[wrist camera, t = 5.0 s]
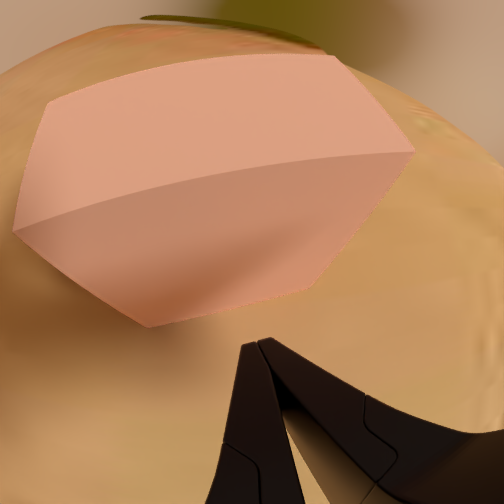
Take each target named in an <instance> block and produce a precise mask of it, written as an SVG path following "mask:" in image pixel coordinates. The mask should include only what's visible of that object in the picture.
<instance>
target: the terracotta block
mask: <svg viewBox="0 0 504 504" xmlns="http://www.w3.org/2000/svg"><path fill="white" fill-rule="evenodd" d="M415 152H416V150H415V149H414V148H413V146H412V145H411V143H410V142H409V141H408V139H407V138H406V136H405V135H404V134H403V132H402V131H401V130H400V128H399V127H398V126H397V125H396V123H395V122H394V121H393V120H392V118H391V117H390V116H389V115H388V113H387V112H386V111H385V110H384V108H383V107H382V106H381V105H380V104H379V103H378V101H377V100H376V99H375V98H374V97H373V96H372V95H371V93H370V92H369V91H368V90H367V89H366V88H365V87H364V86H363V85H362V83H361V82H360V81H359V80H358V79H357V78H356V77H355V76H354V75H353V74H352V73H351V72H350V71H349V70H348V69H347V68H346V67H345V66H344V65H343V64H342V63H341V62H340V61H339V60H338V59H337V58H336V57H335V56H328V55H312V54H255V55H239V56H227V57H217V58H209V59H201V60H194V61H188V62H182V63H176V64H171V65H165V66H161V67H156V68H151V69H147V70H143V71H139V72H135V73H131V74H127V75H124V76H120V77H117V78H113V79H110V80H107V81H103V82H100V83H97V84H94V85H91V86H88V87H86V88H83V89H80V90H77V91H75V92H72V93H70V94H67V95H65V96H62V97H60V98H57V99H55V100H53V101H50V102H48V104H47V107H46V109H45V112H44V114H43V117H42V119H41V122H40V125H39V127H38V130H37V133H36V136H35V139H34V141H33V145H32V148H31V151H30V154H29V157H28V161H27V164H26V168H25V171H24V175H23V179H22V183H21V187H20V192H19V196H18V201H17V206H16V211H15V217H14V223H13V229H12V232H13V233H14V234H15V235H16V236H17V237H18V238H20V239H21V240H22V241H23V242H24V243H25V244H27V245H28V246H29V247H30V248H31V249H33V250H34V251H35V252H36V253H38V254H39V255H40V256H41V257H43V258H44V259H45V260H46V261H48V262H49V263H50V264H52V265H53V266H54V267H55V268H57V269H58V270H59V271H61V272H62V273H63V274H65V275H66V276H68V277H69V278H70V279H72V280H73V281H74V282H76V283H77V284H79V285H80V286H82V287H83V288H84V289H86V290H87V291H89V292H90V293H92V294H93V295H95V296H96V297H98V298H99V299H101V300H102V301H104V302H105V303H107V304H108V305H110V306H111V307H113V308H115V309H116V310H118V311H119V312H121V313H123V314H124V315H126V316H127V317H129V318H131V319H132V320H134V321H136V322H137V323H139V324H141V325H142V326H144V327H146V328H151V327H155V326H160V325H165V324H170V323H174V322H179V321H183V320H188V319H192V318H197V317H201V316H205V315H209V314H214V313H218V312H222V311H226V310H230V309H234V308H238V307H242V306H246V305H250V304H254V303H258V302H261V301H265V300H269V299H273V298H276V297H280V296H284V295H287V294H291V293H295V292H298V291H302V290H305V289H309V288H310V287H311V286H312V285H313V283H314V282H315V281H316V280H317V279H318V278H319V276H320V275H321V274H322V273H323V272H324V271H325V269H326V268H327V267H328V266H329V265H330V263H331V262H332V261H333V260H334V259H335V257H336V256H337V255H338V254H339V253H340V251H341V250H342V249H343V248H344V247H345V245H346V244H347V243H348V242H349V240H350V239H351V238H352V237H353V235H354V234H355V233H356V232H357V230H358V229H359V228H360V227H361V225H362V224H363V223H364V222H365V220H366V219H367V218H368V216H369V215H370V214H371V213H372V211H373V210H374V209H375V207H376V206H377V205H378V203H379V202H380V201H381V199H382V198H383V197H384V195H385V194H386V193H387V191H388V190H389V189H390V187H391V186H392V185H393V183H394V182H395V181H396V179H397V178H398V176H399V175H400V174H401V172H402V171H403V170H404V168H405V167H406V165H407V164H408V162H409V161H410V160H411V158H412V157H413V155H414V154H415Z"/></svg>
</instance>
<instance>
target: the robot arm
mask: <svg viewBox="0 0 504 504" xmlns="http://www.w3.org/2000/svg"><path fill="white" fill-rule="evenodd" d="M285 427H286V428H285ZM286 429H287V430H288V432H289V434H290V436H291V438H292V439H293V441H294V443H295V445H296V447H297V448H298V450H299V452H300V454H301V455H302V457H303V459H304V461H305V462H306V464H307V466H308V467H309V469H310V471H311V473H312V474H313V476H314V478H315V479H316V481H317V483H318V484H319V486H320V488H321V489H322V491H323V493H324V494H325V496H326V497H327V499H328V501H329V502H330V504H504V429H502V430H497V431H492V432H486V433H467V432H461V431H457V430H454V429H450V428H447V427H444V426H441V425H438V424H435V423H432V422H429V421H426V420H423V419H420V418H417V417H415V416H412V415H409V414H407V413H404V412H402V411H400V410H397V409H395V408H393V407H391V406H389V405H387V404H385V403H383V402H381V401H379V400H377V399H375V398H373V397H371V396H369V395H366V396H365V393H364V392H362V391H360V390H358V389H357V388H355V387H353V386H351V385H350V384H348V383H346V382H344V381H343V380H341V379H339V378H337V377H336V376H334V375H332V374H331V373H329V372H327V371H325V370H324V369H322V368H320V367H319V366H317V365H315V364H314V363H312V362H310V361H309V360H307V359H306V358H304V357H302V356H301V355H299V354H297V353H296V352H294V351H293V350H291V349H289V348H288V347H286V346H285V345H283V344H281V343H280V342H278V341H277V340H275V339H274V338H272V337H268V338H265V339H261V340H258V341H257V343H256V342H250V343H246V344H243V345H242V346H241V350H240V355H239V360H238V366H237V371H236V376H235V381H234V386H233V391H232V397H231V402H230V407H229V412H228V417H227V422H226V427H225V432H224V437H223V444H222V446H221V451H220V456H219V460H218V465H217V469H216V473H215V476H214V479H213V482H212V485H211V488H210V491H209V494H208V497H207V499H206V502H205V504H305V500H304V496H303V493H302V489H301V485H300V481H299V477H298V474H297V470H296V466H295V462H294V459H293V455H292V451H291V447H290V443H289V439H288V435H287V432H286Z"/></svg>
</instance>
